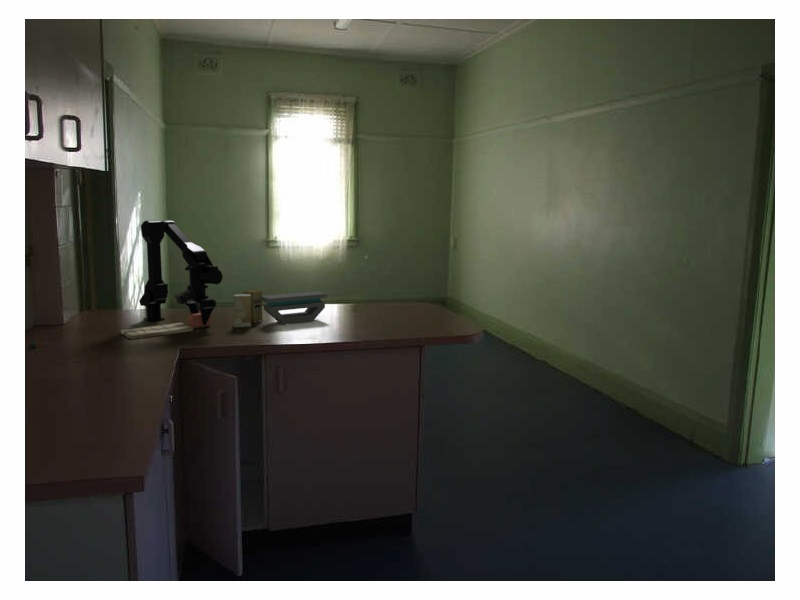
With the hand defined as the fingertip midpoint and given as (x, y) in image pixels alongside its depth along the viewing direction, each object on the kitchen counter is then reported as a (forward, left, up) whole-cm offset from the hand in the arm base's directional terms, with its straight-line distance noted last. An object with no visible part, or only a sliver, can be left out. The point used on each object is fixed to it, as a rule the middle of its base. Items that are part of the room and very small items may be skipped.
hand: (199, 322), depth 234 cm
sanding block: (0, 0, -2) cm, 2 cm away
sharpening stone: (+15, +33, -2) cm, 36 cm away
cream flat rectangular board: (0, -16, -1) cm, 16 cm away
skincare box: (+10, +13, -2) cm, 16 cm away
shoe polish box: (+3, +21, -2) cm, 21 cm away
